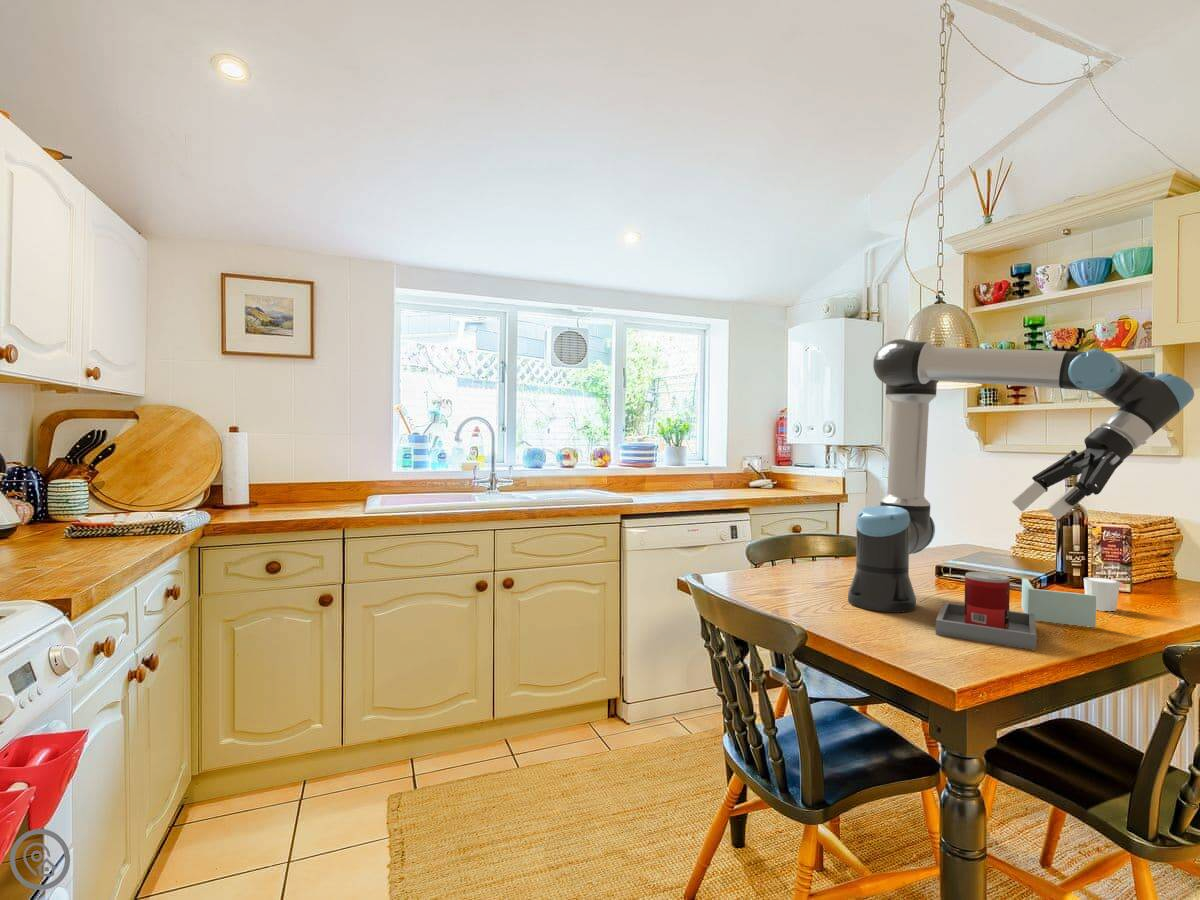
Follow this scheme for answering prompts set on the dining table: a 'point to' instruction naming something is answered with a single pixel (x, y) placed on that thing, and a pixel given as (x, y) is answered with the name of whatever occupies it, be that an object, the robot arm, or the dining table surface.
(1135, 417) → the robot arm
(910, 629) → the dining table surface
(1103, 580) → the white cup
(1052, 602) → the l-shaped corner panel
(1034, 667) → the dining table surface
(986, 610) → the canned food
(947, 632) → the gray square tray
